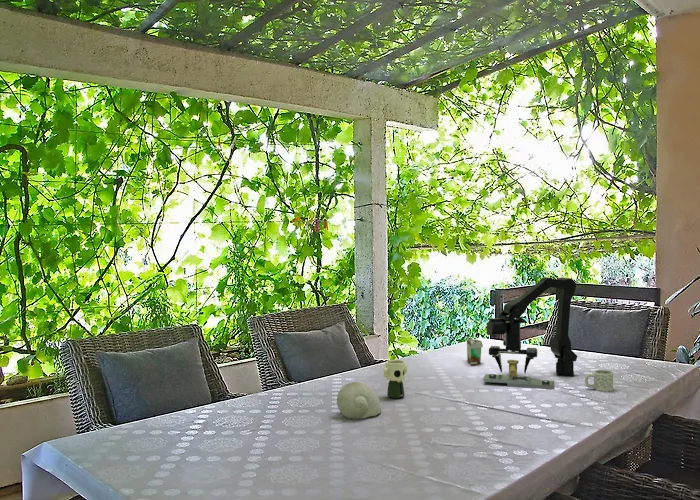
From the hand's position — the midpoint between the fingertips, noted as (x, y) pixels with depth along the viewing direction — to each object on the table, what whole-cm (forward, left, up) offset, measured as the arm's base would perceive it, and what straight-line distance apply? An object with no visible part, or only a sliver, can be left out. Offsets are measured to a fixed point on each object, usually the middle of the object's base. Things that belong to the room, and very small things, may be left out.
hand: (513, 372), depth 265 cm
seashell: (+45, +64, -2) cm, 78 cm away
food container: (+18, -24, -2) cm, 30 cm away
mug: (-32, +10, -2) cm, 34 cm away
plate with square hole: (-3, +10, -2) cm, 11 cm away
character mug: (+38, +41, -2) cm, 56 cm away
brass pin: (0, 0, -2) cm, 2 cm away
